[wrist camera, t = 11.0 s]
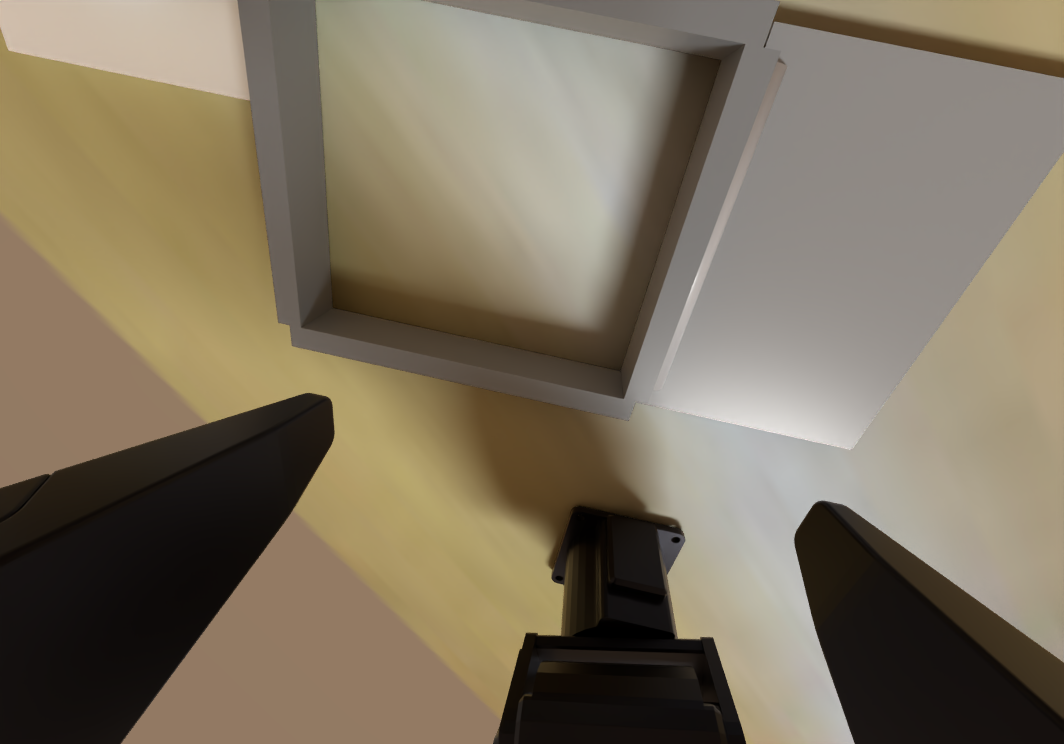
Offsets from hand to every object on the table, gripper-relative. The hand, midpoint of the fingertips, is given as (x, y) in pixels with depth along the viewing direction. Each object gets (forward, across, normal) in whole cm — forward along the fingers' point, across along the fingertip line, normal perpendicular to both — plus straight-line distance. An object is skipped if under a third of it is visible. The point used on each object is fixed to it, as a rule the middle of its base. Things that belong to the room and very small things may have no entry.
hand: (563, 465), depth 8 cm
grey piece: (+12, -1, -2) cm, 12 cm away
